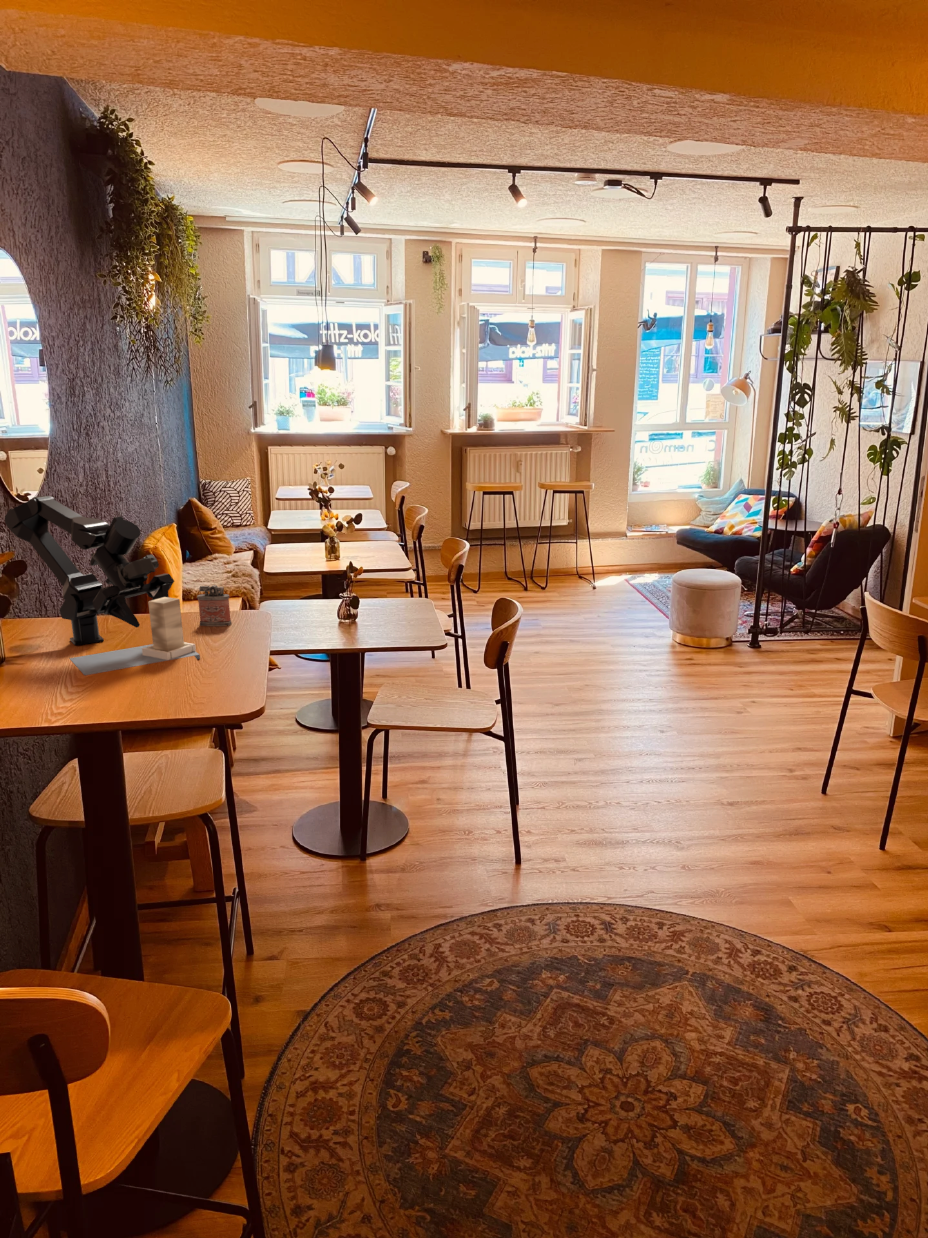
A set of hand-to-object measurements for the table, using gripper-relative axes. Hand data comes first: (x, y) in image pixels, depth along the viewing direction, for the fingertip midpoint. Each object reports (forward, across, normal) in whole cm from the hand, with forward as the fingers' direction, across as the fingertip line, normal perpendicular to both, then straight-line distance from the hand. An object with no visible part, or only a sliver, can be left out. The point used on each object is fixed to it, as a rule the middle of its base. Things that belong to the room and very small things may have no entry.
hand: (155, 621), depth 200 cm
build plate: (+5, -6, +6) cm, 10 cm away
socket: (+8, 0, +3) cm, 8 cm away
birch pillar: (+7, 0, +2) cm, 8 cm away
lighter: (0, +26, +12) cm, 28 cm away
